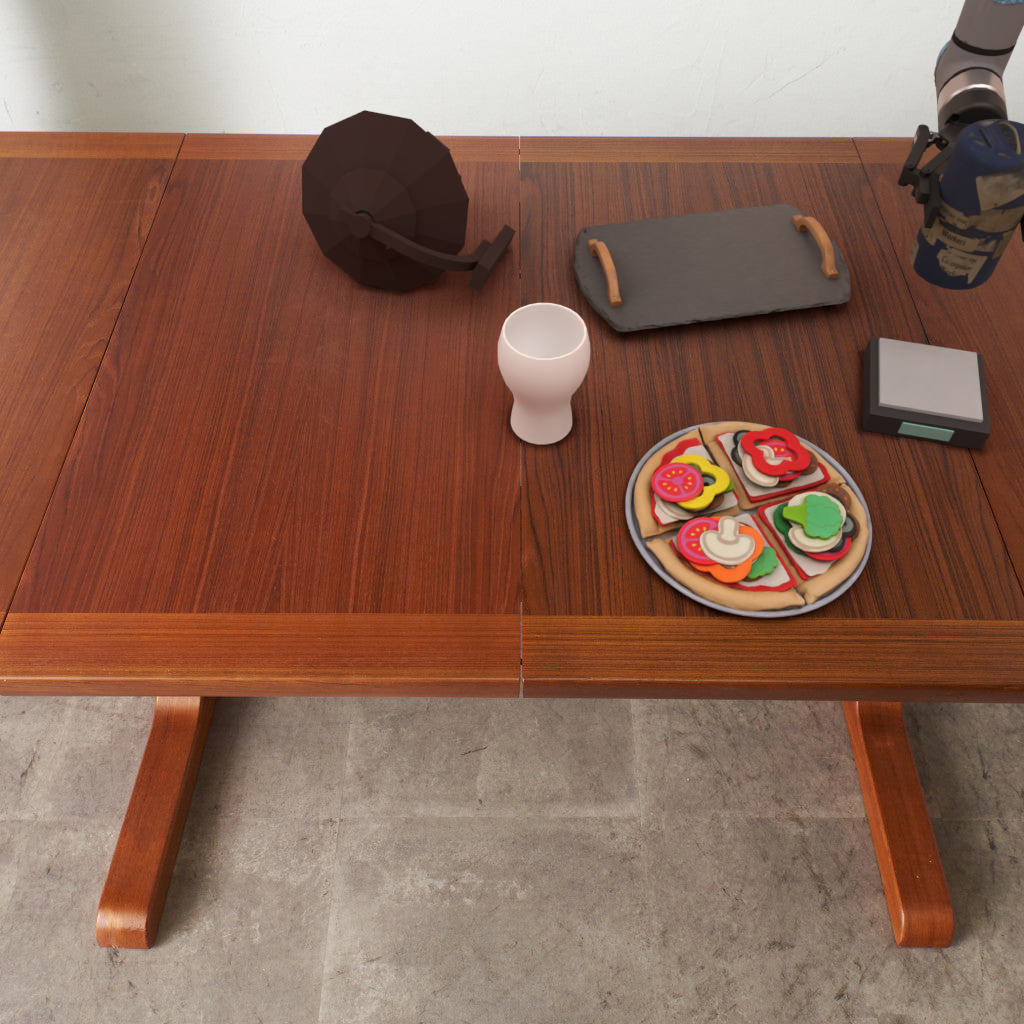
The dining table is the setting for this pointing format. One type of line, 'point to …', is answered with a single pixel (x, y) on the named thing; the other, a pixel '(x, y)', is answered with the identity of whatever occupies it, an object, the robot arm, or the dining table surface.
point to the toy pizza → (748, 519)
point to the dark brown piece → (391, 205)
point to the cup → (543, 368)
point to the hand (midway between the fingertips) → (981, 224)
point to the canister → (974, 207)
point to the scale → (925, 393)
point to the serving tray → (708, 267)
